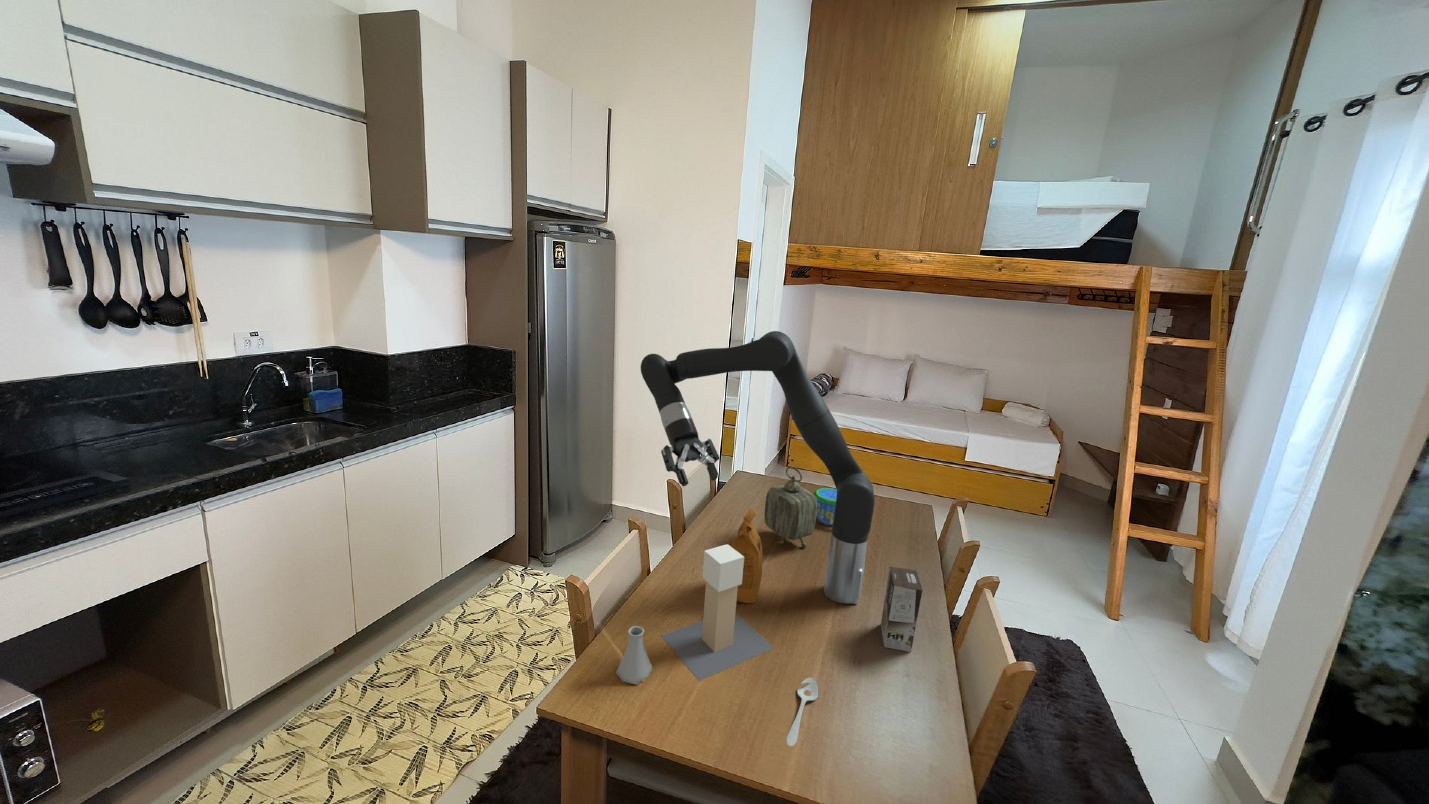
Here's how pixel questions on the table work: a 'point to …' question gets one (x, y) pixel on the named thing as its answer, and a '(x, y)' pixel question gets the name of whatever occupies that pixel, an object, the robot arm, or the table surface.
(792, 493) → the tabletop clock
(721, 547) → the white cube block
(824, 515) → the snack cup
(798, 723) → the spoon
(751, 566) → the coffee package
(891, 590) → the coffee box
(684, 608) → the table surface
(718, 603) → the beige tall block
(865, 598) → the table surface
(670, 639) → the mat
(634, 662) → the flask
